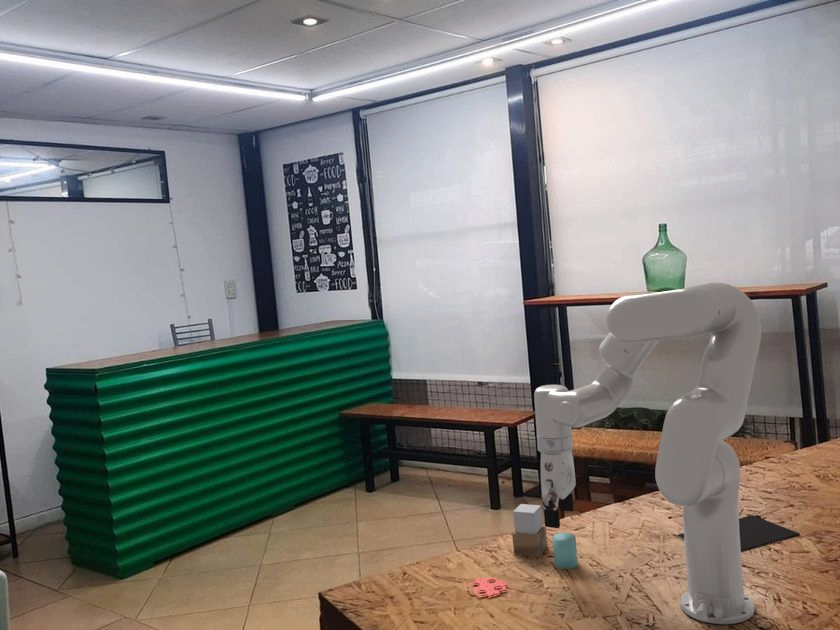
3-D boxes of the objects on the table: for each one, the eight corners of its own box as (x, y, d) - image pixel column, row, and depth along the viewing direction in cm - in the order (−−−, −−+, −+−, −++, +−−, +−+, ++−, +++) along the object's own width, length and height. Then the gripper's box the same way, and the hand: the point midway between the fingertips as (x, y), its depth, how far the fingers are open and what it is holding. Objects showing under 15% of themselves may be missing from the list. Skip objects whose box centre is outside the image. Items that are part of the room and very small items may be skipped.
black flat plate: (801, 537, 161) (750, 517, 175) (801, 531, 161) (749, 511, 175) (719, 561, 153) (672, 537, 168) (719, 555, 153) (672, 532, 167)
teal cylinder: (574, 570, 155) (571, 543, 154) (551, 567, 157) (549, 540, 157) (580, 560, 159) (578, 534, 158) (558, 558, 161) (556, 532, 161)
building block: (475, 598, 145) (512, 589, 147) (462, 583, 152) (497, 574, 155) (476, 602, 145) (512, 593, 147) (462, 586, 153) (497, 578, 155)
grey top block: (535, 534, 164) (533, 513, 163) (515, 532, 166) (513, 511, 166) (542, 526, 168) (541, 505, 168) (522, 524, 170) (520, 503, 170)
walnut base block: (538, 557, 163) (536, 535, 163) (514, 554, 166) (512, 533, 166) (547, 546, 168) (545, 526, 168) (523, 544, 171) (521, 523, 171)
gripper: (559, 455, 147) (564, 536, 148) (583, 432, 162) (587, 506, 163) (524, 452, 150) (529, 531, 152) (550, 431, 165) (555, 503, 167)
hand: (559, 518), depth 158 cm, fingers open, 9 cm apart
